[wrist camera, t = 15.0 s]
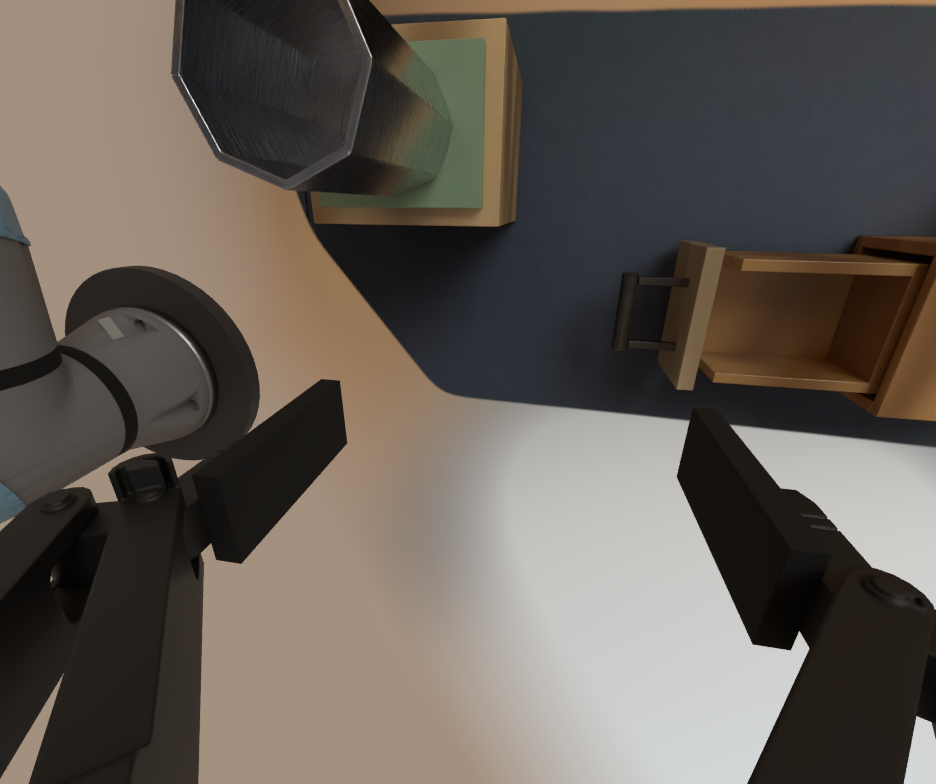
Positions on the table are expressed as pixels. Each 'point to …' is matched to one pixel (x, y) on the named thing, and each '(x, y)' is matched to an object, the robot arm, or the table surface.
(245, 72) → the metal cup
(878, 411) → the cabinet
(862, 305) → the drawer
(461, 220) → the stand
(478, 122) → the mat
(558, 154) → the table surface
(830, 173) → the table surface
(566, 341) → the table surface
